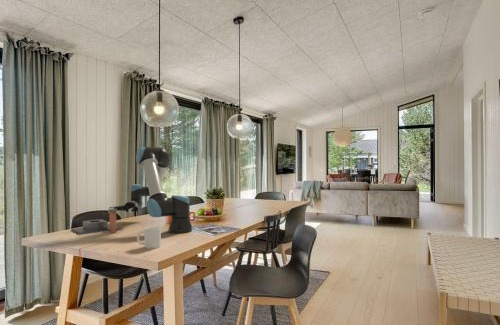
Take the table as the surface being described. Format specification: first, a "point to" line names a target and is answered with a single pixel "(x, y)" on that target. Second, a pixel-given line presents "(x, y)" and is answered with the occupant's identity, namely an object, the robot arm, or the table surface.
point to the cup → (151, 237)
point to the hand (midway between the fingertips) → (119, 211)
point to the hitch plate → (83, 231)
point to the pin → (112, 221)
